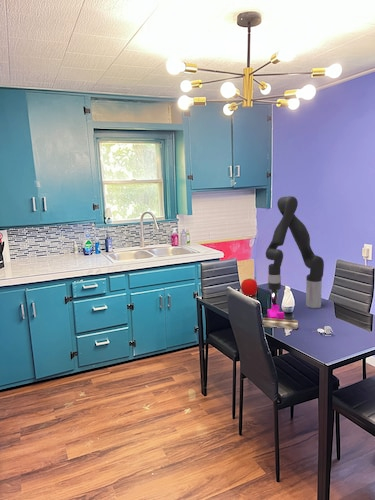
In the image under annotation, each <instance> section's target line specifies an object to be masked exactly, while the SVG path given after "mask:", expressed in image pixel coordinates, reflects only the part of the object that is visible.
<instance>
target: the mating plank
mask: <svg viewBox="0 0 375 500" xmlns="http://www.w3.org/2000/svg"><path fill="white" fill-rule="evenodd" d="M262 318H263V324H264V327H265V328H272V327H277V328H276V329H283V328H289V329H288V330H293V329H297V328H299V321H298V320H295V319H294V320H293V319H285V318H284V319H273V318H269V317H262ZM264 327H263V328H264ZM297 330H298V329H297Z"/></svg>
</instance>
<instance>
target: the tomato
mask: <svg viewBox="0 0 375 500" xmlns="http://www.w3.org/2000/svg"><path fill="white" fill-rule="evenodd" d="M240 289H241V292H242V293H243V295H245V296H246V295H247V297H251V296H250V295H254V296H255V295H256V294H257V292H258V283H257V281H256V280H255V279H252V278H246V279H243V281H241V285H240ZM248 295H249V296H248Z"/></svg>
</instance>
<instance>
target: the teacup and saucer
mask: <svg viewBox="0 0 375 500" xmlns="http://www.w3.org/2000/svg"><path fill="white" fill-rule="evenodd" d="M323 328H324V329H323ZM323 328H318V329H317V330H316V331H317V332H318V333H319V332H320V333H322V334H325V333H326V334H325V335H330V334H331V332H330V331H333V329H332V328H331V326H328V325H325V326H324V327H323Z"/></svg>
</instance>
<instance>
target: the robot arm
mask: <svg viewBox="0 0 375 500" xmlns="http://www.w3.org/2000/svg"><path fill="white" fill-rule="evenodd" d="M298 203H299V202H298V199H297V198H296V197H295V196H292V195H291V196H290V195H288V196H281V197H279V198H278V199H277V204H276V205H277V209H278V210H279V212H280V213H281V215H282V217H281V219H280V221H279V223H278V225H277V226H276V228H275V229H274V232H273V235H272V239H271V242H270V243H269V245H268V247H267V248H266V251H265V258H266V259H267V260H268V261H269V260H270V261H273V263H270V264H269V265H268V276H267V288H268V289H269V290H271V291H270V300H271V304H277V302H278V297H279V296H278V295H279V290H281V289H282V282H281V281H282V276H281V267H282V263H283V260H284V252H283V251H282V250H281V249H279V248H278V247H282V246H284V243H285V241H286V236H287V232H288V229H289V230H290V233H291V235H292V237H293V239H294V240H293V241H295V243H296V246H297V248H298V249H299V252H300V255H301V258H302V260H303V264H304V265H305V267H306V268H307V269H309V273H308V274H307V275H306V282H305V283H306V284H305V285H306V288H305V295H306V296H305V306H306V307H308V308H312V309H317V308H318V309H319V308H320V309H321V308H322V282H323V281H322V280H323V277H324V269H325V267H324V266H325V261H324V259H323V257H321V256H319V255H317V254H315V253H314V250H313V249H312V247H311V238H310V233H309V231H308V228H307V227H306V225H305V224H304V223H303V222H302V221H301V219H299V218H298V217H297V215H295V213H296V212H297V208H298Z"/></svg>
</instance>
